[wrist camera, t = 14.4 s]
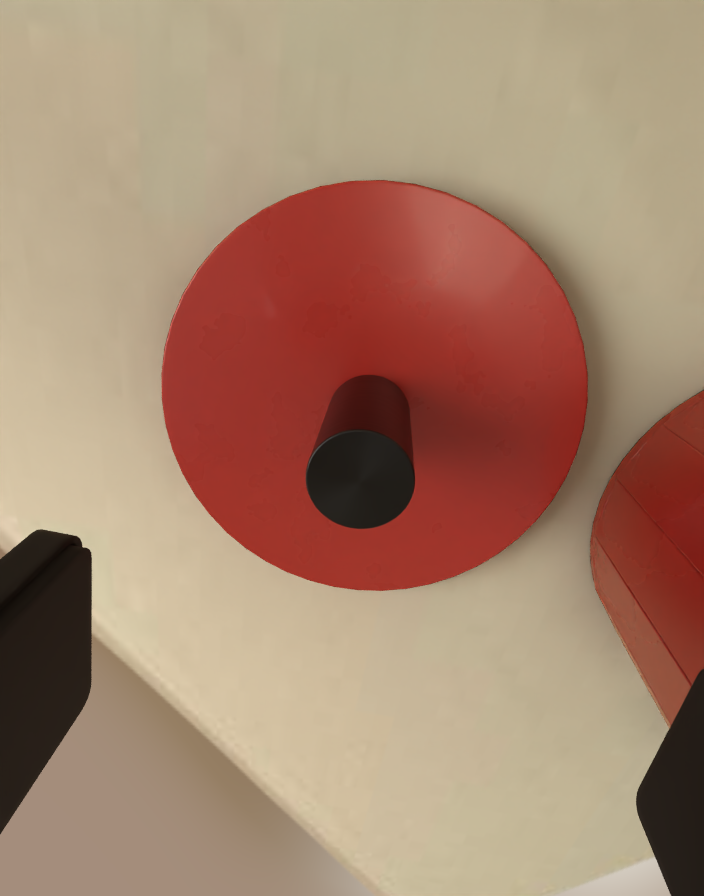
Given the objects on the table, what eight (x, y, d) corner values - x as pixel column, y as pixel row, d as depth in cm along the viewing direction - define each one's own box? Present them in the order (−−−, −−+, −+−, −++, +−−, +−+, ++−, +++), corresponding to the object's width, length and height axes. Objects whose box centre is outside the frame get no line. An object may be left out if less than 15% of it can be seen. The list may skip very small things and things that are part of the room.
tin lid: (163, 536, 23) (78, 650, 17) (187, 141, 18) (74, 97, 12) (510, 603, 23) (552, 742, 17) (641, 230, 18) (773, 233, 12)
